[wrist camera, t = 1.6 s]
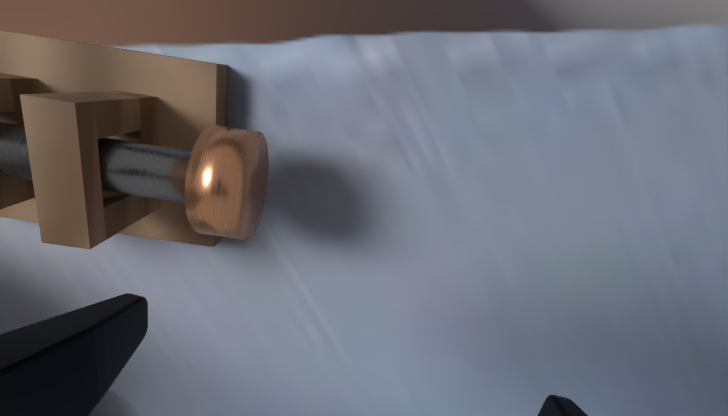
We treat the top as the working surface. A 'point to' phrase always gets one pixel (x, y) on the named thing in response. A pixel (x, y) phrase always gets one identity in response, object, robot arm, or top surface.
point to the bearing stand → (100, 133)
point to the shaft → (176, 174)
